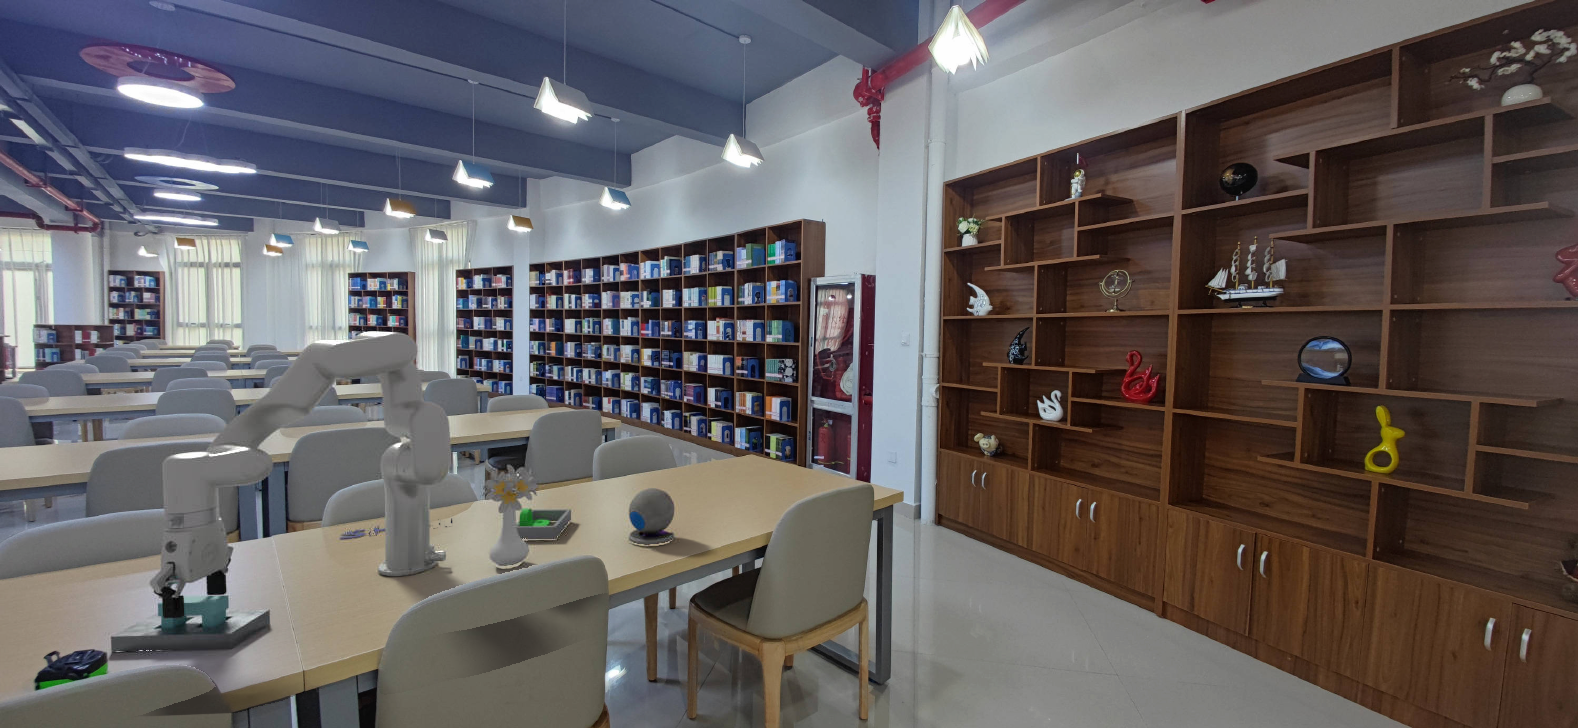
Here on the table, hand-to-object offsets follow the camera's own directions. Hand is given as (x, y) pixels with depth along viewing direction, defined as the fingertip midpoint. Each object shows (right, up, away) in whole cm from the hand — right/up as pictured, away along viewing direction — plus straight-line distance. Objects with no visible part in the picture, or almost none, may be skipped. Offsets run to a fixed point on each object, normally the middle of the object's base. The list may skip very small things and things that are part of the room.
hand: (196, 605), depth 119 cm
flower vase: (+43, -6, +40) cm, 59 cm away
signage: (-3, -4, +67) cm, 67 cm away
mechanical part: (+38, -4, +67) cm, 77 cm away
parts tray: (+40, -4, +67) cm, 78 cm away
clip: (0, -6, 0) cm, 6 cm away
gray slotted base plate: (0, -6, 0) cm, 6 cm away
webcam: (+74, -5, +62) cm, 96 cm away
